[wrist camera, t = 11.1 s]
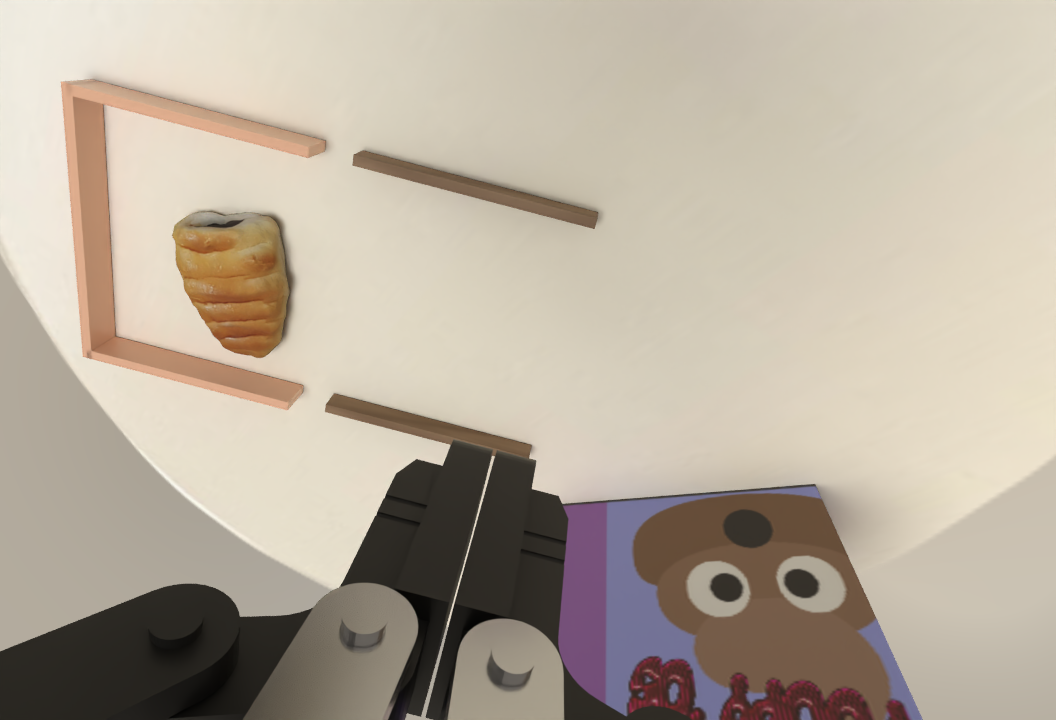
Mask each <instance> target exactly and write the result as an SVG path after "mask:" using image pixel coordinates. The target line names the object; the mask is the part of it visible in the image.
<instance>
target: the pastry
mask: <svg viewBox="0 0 1056 720" xmlns="http://www.w3.org/2000/svg"><path fill="white" fill-rule="evenodd" d="M172 236H173V238H174V240H175V243H176V263H177V267H178V269H179V271H180V273H181V275H182V278H183V280H184V289H185V291H186V293H187V294H188V296H189V298H190V300H191V302H192V304H193V305H194V306H195V307H196V308H197V309H198V312H199V314H200V316H201V318H202V319H203V320H204V321H205V323H206V325H207V326H208V327H209V329H210V330H211V332H212V334H213V335H214V337H216V338H217V339H218V340H219V341H220V343H221V344H222V346H223V347H224V348H226V349H228V350H230V351H232V352H234V353H239V354H244V355H252V356H254V357H256V358H263V357H265V356H266V355H268V354H269V353H270V352H271V351H272V350H273V349H274V348H275V347H276V346H277V345H278V344H279V343H280V341H281V339H282V330H283V322H284V320H285V317H286V304H287V300H288V297H289V294H290V290H289V287H288V281H287V275H286V268H285V254H284V248H283V244H282V239H281V236H280V230H279V227H278V225H277V223H276V222H275V221H274V220H273V219H272V218H271V217H268V216H261V215H259V214H256V213H241V214H232V215H227V216H223V215H219V214H217V213H213V212H197V213H193V214H191V215H189V216H187V217H185V218H184V219H182V220H181V221H179V222H178V223H177V224H176V225H175V226H174V231H173V235H172Z"/></svg>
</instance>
